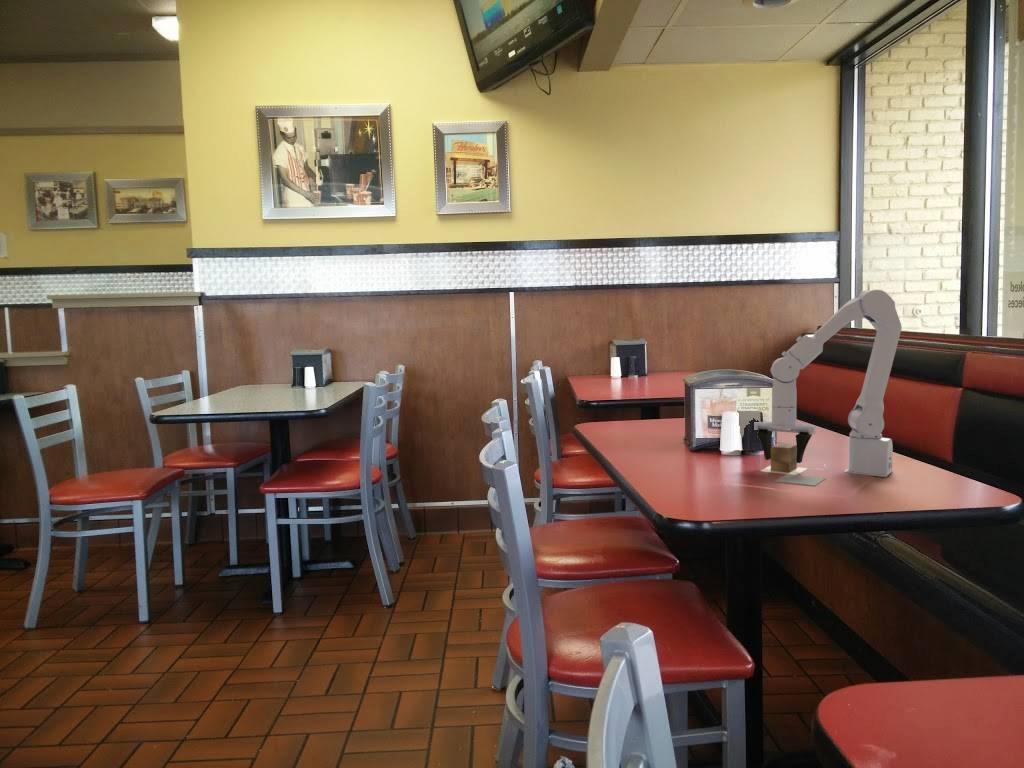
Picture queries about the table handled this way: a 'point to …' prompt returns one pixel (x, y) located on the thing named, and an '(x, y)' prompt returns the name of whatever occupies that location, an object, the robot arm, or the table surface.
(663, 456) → the table surface
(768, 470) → the tile
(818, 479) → the grey mat
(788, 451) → the walnut block
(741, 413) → the grey upright block
